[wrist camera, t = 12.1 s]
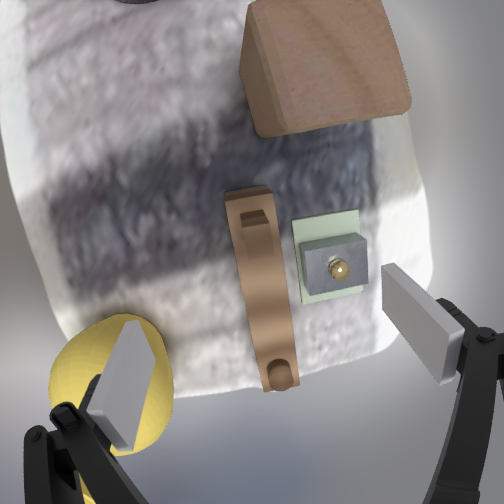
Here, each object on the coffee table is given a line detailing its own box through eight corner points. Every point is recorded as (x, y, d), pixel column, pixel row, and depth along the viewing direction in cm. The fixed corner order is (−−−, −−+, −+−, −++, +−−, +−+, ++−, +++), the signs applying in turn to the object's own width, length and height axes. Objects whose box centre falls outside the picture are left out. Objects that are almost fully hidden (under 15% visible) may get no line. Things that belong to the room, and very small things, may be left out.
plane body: (224, 192, 40) (222, 214, 27) (266, 184, 40) (283, 203, 27) (258, 362, 48) (267, 423, 36) (292, 355, 48) (309, 415, 36)
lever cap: (298, 242, 42) (306, 254, 37) (356, 232, 42) (370, 242, 37) (303, 284, 44) (311, 300, 39) (358, 273, 44) (371, 287, 39)
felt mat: (291, 220, 41) (291, 221, 41) (356, 208, 41) (358, 209, 41) (301, 302, 45) (302, 304, 45) (361, 289, 45) (362, 291, 45)
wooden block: (314, 50, 34) (380, -14, 16) (334, 123, 38) (420, 112, 19) (236, 65, 35) (243, -4, 16) (257, 140, 38) (284, 136, 19)
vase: (199, 371, 48) (186, 535, 22) (114, 388, 49) (67, 526, 22) (156, 281, 43) (85, 448, 16) (66, 309, 43) (-29, 441, 17)
